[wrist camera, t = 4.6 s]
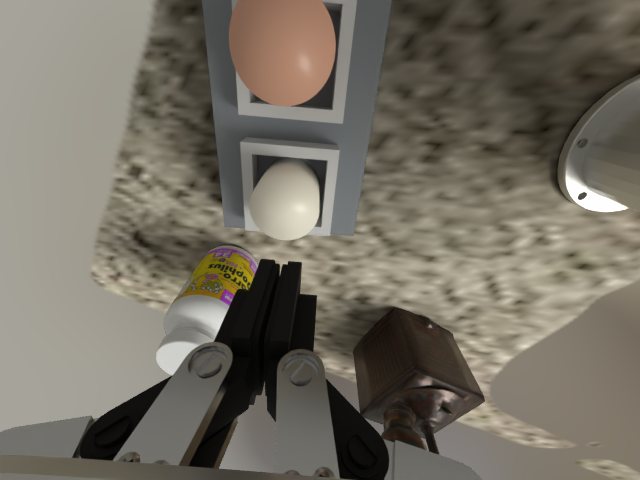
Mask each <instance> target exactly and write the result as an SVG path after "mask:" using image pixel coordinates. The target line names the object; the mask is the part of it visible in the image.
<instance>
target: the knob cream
mask: <svg viewBox="0 0 640 480" xmlns="http://www.w3.org/2000/svg"><path fill="white" fill-rule="evenodd" d="M249 209H250V214H251V217H252V220H253V221H254V223H255V225H256V226H257V227H258V228H259V229H260V230H261V231H262V232H263V233H265V234H266V235H268V236H270V237H272V238H275V239H279V240H294V239H298V238H300V237H303V236H304V235H306V234H308V233H309V232H310V231H311V230H312V229H313V228H314V226H315V225H316V223H317V220H318V217H319V179H318V176H317V174H316V172H315V170H314V169H313V168H312V167H311V166H310V165H309V164H308V163H307V162H305V161H303V160H301V159H298V158H291V157H285V158H280V159H278V160H276V161H274V162H273V163H272V164H270V165H269V167H268V168H267V169H266V171H265V172H264V174H263V176H262V177H261V179H260V181H259V182H258V184H257V186H256V187H255V189H254V191H253V193H252V195H251V198H250V202H249Z"/></svg>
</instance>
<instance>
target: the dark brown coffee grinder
mask: <svg viewBox="0 0 640 480" xmlns="http://www.w3.org/2000/svg"><path fill="white" fill-rule="evenodd" d="M353 354H354V361H355V371H356V380H357V389H358V398H359V407H360V414H361V415H362V416H363V417H364V418H367V419H369V420H372V421H374V422H377V423H380V424H383V425H384V432H383V433H382V435H381V437H382V439H385V440H388V441H391V442H395V440H397V441H400V442H403V443H406V444H409V445H412V446H415V447H418V448H421V449H424V450H426V451H427V448H426V446H425V444H424V443H423V441H422V439H421V438H424V439H426V442H427V445H428V449H429V452H432V453H435V454H438V455H440V454H439V451H438V448H437V445H436V441H435V438H434V433H436V432H437V431H439V430H441V429H442V428H444V427H445V426H447V425H448V424H450V423H452V422H453V421H455V420H456V419H458V418H460V417H461V416H463V415H464V414H466V413H468V412H469V411H471V410H472V409H474V408H476V407H477V406H479V405H480V404H482V403H483V402H485V399H484V396H483V393H482V391H481V390H480V388H479V386H478V384H477V382H476V380H475V378H474V376H473V374H472V372H471V370H470V368H469V367H468V365H467V363H466V361H465V359H464V357H463V355H462V353H461V351H460V349H459V348H458V346H457V344H456V342H455V340H454V337H453V334H452V333H450V332H449V331H447V330H445V329H443V328H442V327H440V326H438V325H437V324H436V323H434V322H432V321H430V320H428V319H426V318H423V317H419V316H417V315H415V314H412V313H410V312H408V311H404V310H400V309H396V308H395V309H394V310H392V311H391V312H390V313H388V314H387V315H386V316H384V317H383V318H382V319H381V320H380V321H379V322H378V323H377V324H376V325H375V326H374V327H373V328H372V329H371V330H370V331H369V332H368V333H367V334H366V335H365V336H364V337H363V338H362V339H361V341H360V342H359V343H358V345H357V346H356V348H355V349H354V351H353ZM420 437H421V438H420Z"/></svg>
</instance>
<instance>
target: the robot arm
mask: <svg viewBox="0 0 640 480" xmlns="http://www.w3.org/2000/svg"><path fill="white" fill-rule="evenodd" d="M557 171H558V182H559V186H560V189H561V191H562V192H563V194H564V195H565V197H566V198H567V199H568V200H570V201H571V202H572V203H574V204H576V205H578V206H580V207H582V208H584V209H587V210H590V211H595V212H612V211H619V210H623V209H627V208H630V209H632V210H635V211H637V212H640V74H639V75H637V76H635V77H632V78H630V79H628V80H626V81H624V82H623V83H621V84H620V85H618V86H617V87H615V88H614V89H612V90H610V91H609V92H608V93H607V94H605V95H604V96H603V97H602V98H601V99H599V100H598V101H597V102H596V103H595V104H594V105H593V106H592V107H591V108H590V109H589V110H588V111H587V112H586V113H585V114H584V115H583V116H582V118H581V119H580V120H579V122H578V123H577V124H576V126H575V127H574V128H573V130H572V131H571V133H570V135H569V137H568V138H567V140H566V142H565V144H564V147H563V149H562V152H561V155H560V158H559V163H558V169H557ZM301 268H302V262H291V261H289V262H288V265H286V264H283V266H282V270H281V274H280V265H279V264H275V260H268V259H261V260H260V263H259V265H258V268H257V270H256V273H255V275H254V278H253V281H252V283H251V286H250V288H249V290H247V289H238V290H237V291H236V293H235V295H234V297H233V300H232V302H231V304H230V306H229V308H228V311H227V313H226V315H225V317H224V320H223V322H222V324H221V326H220V329H219V331H218V333H217V335H216V337H215V340H214V342H209V343H204V344H202V345H200V346H198V347H196V348H195V349H193V350H192V351H191V352H190V353H189V354H188V355H187V356H186V357H185V359H184V360H183V362H182V363H181V365H180V366H179V367H178V369H177V370H176V372H175V373H174V374H173V375H172V376H170V377H169V378H167V379H165V380H163V381H162V382H160V383H158V384H156V385H154V386H153V387H151V388H149V389H147V390H146V391H144V392H142V393H140V394H139V395H137V396H135V397H133V398H132V399H130V400H128V401H127V402H124V403H123V404H121V405H119V406H118V407H115V408H114V409H112V410H110V411H108V412H107V413H106V414H104V415H103V416H101V417H100V418H96V419H93V418H92V416H86V417H80V418H73V419H67V420H60V421H54V422H47V423H40V424H34V425H27V426H20V427H14V428H11V429H8V430H5V431H2V432H0V480H481V478H480V476H479V475H477V473H476V472H475V471H474V470H472V469H471V468H470V467H469V466H467V465H465V464H463V463H461V462H458V461H455V460H453V459H450V458H447V457H444V456H441V455H438V454H435V453H432V452H429V451H426V450H424V449H421V448H418V447H415V446H412V445H409V444H406V443H403V442H400V441H397V440H395V442H391V441H388V440H385V439H382V437H381V436H380V435H379V433H378V432H377V431H376V430H375V429H374V428H373V427H372V426H371V425H370V424H369V423H368V422H367V421H366V420H365V419H364V417H363V416H362V415H361V414H360V413H359V412H358V411H357V410H356V409H355V408H354V407H353V406H352V405H351V404H350V403H349V402H348V401H347V400H346V399H345V398H344V397H343V396H342V395H341V394H340V393H339V391H337V389H336V388H335V387H334V386H333V385H332V384H331V383H330V382H329V381H328V380H327V379H326V377H325V370H324V366H323V362H322V360H321V359H320V358H319V356H318V355H316V354H315V353H314V352H313V348H314V332H315V317H316V301H317V295H306V294H300V284H301ZM264 382H265V394H266V396H267V410H268V412H269V413H270V415H271V416H272V418H273V419H274V420H275V422H276V452H275V473H265V472H254V471H253V472H252V471H240V470H228V469H219V467H220V464H221V461H222V459H223V457H224V455H225V452H226V450H227V447H228V445H229V443H230V440H231V438H232V435H233V433H234V431H235V428H236V426H237V423H238V420H239V415H241V414H242V413H243V412H245V411H246V410H247V409H248V408H249V405H254V402H255V398H256V395H261V394H262V391H263V386H264Z"/></svg>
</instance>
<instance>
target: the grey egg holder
mask: <svg viewBox="0 0 640 480" xmlns="http://www.w3.org/2000/svg"><path fill="white" fill-rule="evenodd" d="M321 1H322V2H323V3H324V5H325V7H326V9H327V10H328V13H329V15H330V17H331V20H332V24H333V27H334V32H335V41H336V50H335V59H334V64H333V67H332V70H331V73H330V76H329V78H328V79H327V81H326V83H325V84H324V86H323V87H322V89H321V90H320V91H319V92H318V93H317V94H316V95H315V96H314V97H312V98H311V99H309V100H308V101H306V102H304V103H301V104H298V105H295V106H277V105H273V104H270V103H268V102H265V101H263V100H262V99H260V98H259V97H257V96H256V95H255V94H253V93H252V92H251V91H250V90H249V89H248V88H247V87H246V85H245V84H244V83H243V81H242V80H241V78H240V77H239V75H238V73H237V71H236V69H235V67H234V64H233V61H232V57H231V53H230V47H229V26H230V21H231V16H232V14H233V11H234V8H235V6H236V4H237V2H238V0H202V9H203V19H204V28H205V38H206V48H207V58H208V68H209V77H210V87H211V97H212V107H213V117H214V126H215V136H216V146H217V156H218V166H219V175H220V185H221V195H222V205H223V215H224V224H225V227H234V228H245V230H248V231H261V230H260V229H259V228H258V227H257V226H256V225H255V223H254V221H253V220H252V217H251V214H250V209H249V202H250V198H251V195H252V193H253V191H254V189H255V187H256V186H257V184H258V182H259V181H260V179H261V177H262V176H263V174H264V172H265V171H266V169H267V168H268V167H269V165H270V164H272V163H273V162H274V161H276V160H278V159H280V158H285V157H291V158H298V159H301V160H303V161H305V162H307V163H308V164H309V165H310V166H311V167H312V168H313V169H314V170H315V172H316V174H317V176H318V179H319V217H318V220H317V223H316V225H315V226H314V228H313V229H312V230H311V231H310V232H309V233H308V234H306V235H319V236H330V234H332V235H346V236H354V230H355V224H356V218H357V212H358V206H359V199H360V193H361V187H362V181H363V175H364V169H365V163H366V157H367V151H368V145H369V139H370V133H371V126H372V120H373V114H374V108H375V102H376V96H377V90H378V84H379V78H380V72H381V66H382V60H383V53H384V47H385V41H386V35H387V29H388V23H389V17H390V11H391V5H392V0H321Z"/></svg>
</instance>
